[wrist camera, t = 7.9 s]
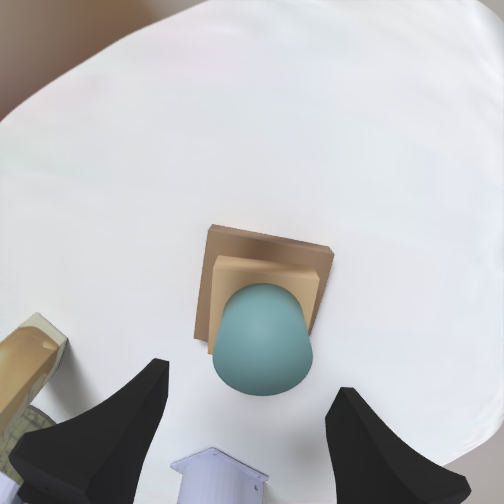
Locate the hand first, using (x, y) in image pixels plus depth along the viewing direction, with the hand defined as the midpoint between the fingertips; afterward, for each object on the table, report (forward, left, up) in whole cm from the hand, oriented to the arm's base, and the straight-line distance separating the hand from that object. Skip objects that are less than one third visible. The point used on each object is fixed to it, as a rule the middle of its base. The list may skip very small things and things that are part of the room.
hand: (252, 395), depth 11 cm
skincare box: (+9, +20, -11) cm, 24 cm away
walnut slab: (0, 0, -11) cm, 11 cm away
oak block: (0, 0, -9) cm, 9 cm away
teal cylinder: (0, 0, -6) cm, 7 cm away
